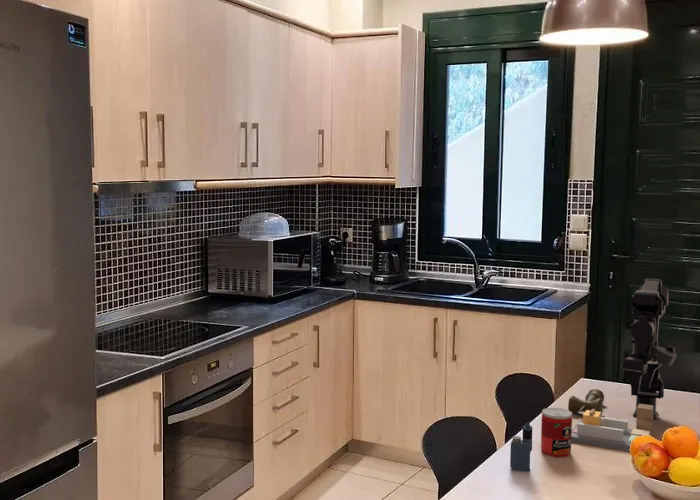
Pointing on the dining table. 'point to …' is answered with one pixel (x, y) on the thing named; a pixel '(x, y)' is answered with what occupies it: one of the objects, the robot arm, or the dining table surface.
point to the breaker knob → (592, 417)
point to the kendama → (587, 402)
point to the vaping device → (521, 450)
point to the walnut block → (645, 417)
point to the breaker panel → (606, 434)
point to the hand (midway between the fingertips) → (641, 390)
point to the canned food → (556, 432)
